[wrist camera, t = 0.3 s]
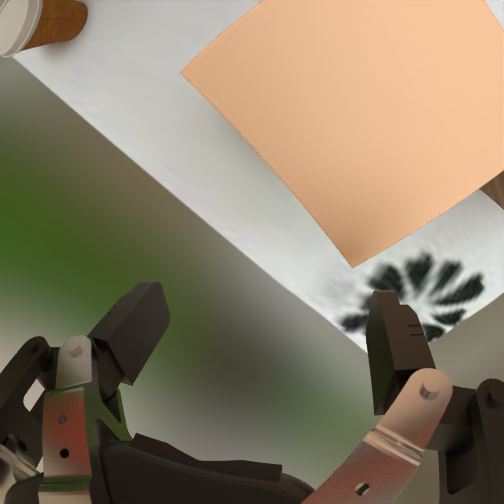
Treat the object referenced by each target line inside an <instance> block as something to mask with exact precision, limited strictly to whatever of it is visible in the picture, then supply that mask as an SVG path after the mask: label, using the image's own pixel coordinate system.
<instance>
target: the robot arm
mask: <svg viewBox="0 0 504 504" xmlns="http://www.w3.org/2000/svg"><path fill="white" fill-rule="evenodd" d="M169 322H170V313H169V309H168V306H167V303H166V299H165V296H164V293H163V290H162V286H161V284H160V283H159V282H154V281H140V282H139V283H138V284H137V285H136V286H135V287H134V288H133V289H132V291H131V292H129V293H127V294H126V295H124V296H123V297H121V298H120V299H119V300H118V301H117V302H116V303H115V304H114V305H113V308H111V309H110V310H109V311H108V313H107V314H106V315H105V316H104V317H103V318H102V319H101V320H100V321H99V323H98V324H97V325H96V326H95V327H94V328H93V330H92V331H91V332H90V333H89V334H88V335H87V337H86V336H76V337H72V338H70V339H69V340H67V341H66V342H65V343H64V344H63V345H62V346H61V347H50V346H49V344H48V343H47V341H46V339H45V338H44V337H41V336H38V337H34V338H31V339H29V340H28V341H27V342H26V343H25V344H24V345H23V346H22V347H21V348H20V349H19V351H18V352H17V353H16V354H15V356H14V357H13V358H12V359H11V360H10V362H9V363H8V364H7V366H6V367H5V368H4V369H3V371H2V372H1V373H0V499H1V500H2V501H3V502H4V504H392V503H393V501H394V500H395V499H396V498H397V496H398V495H399V494H400V492H401V491H402V489H403V488H404V487H405V485H406V484H407V482H408V481H409V480H410V478H411V476H412V475H413V474H414V472H415V471H416V469H417V467H418V466H419V464H420V462H421V460H422V456H421V455H422V453H423V451H424V449H430V450H437V451H438V458H439V483H440V499H439V500H440V501H439V504H504V382H502V381H500V380H498V379H487V380H485V381H483V382H482V383H481V384H480V385H479V387H478V388H477V389H469V388H462V387H457V386H453V385H452V383H451V382H450V380H449V378H448V377H447V376H446V375H445V374H444V373H442V372H441V371H439V370H436V367H435V364H434V361H433V358H432V355H431V352H430V349H429V346H428V343H427V340H426V337H425V336H424V332H423V329H422V327H421V324H420V321H419V318H418V316H417V314H416V313H415V312H414V310H413V309H412V308H411V307H410V306H409V305H400V303H399V300H398V297H397V295H396V292H395V291H374V292H373V295H372V300H371V306H370V311H369V316H368V321H367V326H366V344H367V351H368V358H369V366H370V374H371V384H372V394H373V404H374V415H384V417H383V418H382V419H381V421H380V422H379V423H378V425H377V426H376V427H375V428H374V429H373V430H371V431H370V432H369V433H368V434H367V436H366V437H365V438H364V439H363V440H362V441H361V443H360V444H359V445H358V446H357V447H356V449H355V450H354V451H353V452H352V453H351V454H350V455H349V456H348V458H347V459H346V460H345V461H344V462H343V463H342V464H341V465H340V466H339V467H338V468H337V469H336V470H335V471H334V473H333V474H332V475H331V476H330V477H329V478H328V479H327V480H326V481H324V482H323V483H322V484H321V486H319V488H317V489H316V490H314V489H313V488H312V487H311V486H310V485H308V484H307V483H305V482H303V481H301V480H300V479H298V478H295V477H293V476H291V475H288V474H285V473H282V465H278V464H268V463H259V462H252V461H245V460H232V461H200V460H197V459H195V458H193V457H191V456H189V455H187V454H185V453H184V452H181V451H180V450H178V449H176V448H175V447H173V446H171V445H169V444H168V443H165V442H162V441H159V440H156V439H153V438H150V437H146V436H144V435H141V434H138V433H136V434H135V436H134V438H133V439H132V437H131V435H130V434H129V431H128V429H127V424H126V419H125V415H124V409H123V404H122V398H121V392H120V389H119V388H118V386H119V384H120V382H122V383H125V384H128V385H131V386H132V385H133V383H134V381H135V380H136V378H137V377H138V375H139V373H140V372H141V370H142V368H143V367H144V365H145V363H146V362H147V360H148V358H149V356H150V355H151V353H152V352H153V350H154V349H155V347H156V345H157V344H158V342H159V341H160V339H161V337H162V336H163V334H164V333H165V331H166V329H167V328H168V326H169ZM36 379H37V380H38V381H39V382H40V384H41V385H42V386H43V387H44V389H45V390H44V391H43V393H42V394H41V396H40V398H39V399H38V400H37V402H36V403H35V405H34V407H33V408H32V409H31V411H30V412H29V411H28V410H27V409H26V408H25V406H24V403H23V399H24V396H25V394H26V393H27V391H28V390H29V388H30V387H31V386H32V384H33V383H34V381H35V380H36ZM42 456H43V469H44V472H42V473H40V472H39V471H37V470H36V467H37V466H38V464H39V462H40V460H41V458H42Z"/></svg>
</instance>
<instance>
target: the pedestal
mask: <svg viewBox="0 0 504 504" xmlns="http://www.w3.org/2000/svg"><path fill="white" fill-rule="evenodd" d="M180 74H181V75H182V76H183V77H184V78H185V79H186V80H187V81H188V82H189V83H190V84H191V85H192V86H193V87H195V88H196V89H197V90H198V91H199V92H200V93H201V94H202V95H203V96H204V97H205V98H206V99H207V100H208V101H209V102H210V103H211V104H212V105H213V106H214V107H215V108H216V109H217V110H218V111H219V112H220V113H221V114H222V116H223V117H224V118H225V119H226V120H227V121H228V122H229V123H230V124H231V125H232V126H233V127H234V128H235V129H236V130H237V131H238V132H239V133H240V134H241V135H242V137H243V138H244V139H245V140H246V141H247V142H248V143H249V144H250V145H251V146H252V147H253V149H254V150H255V151H256V152H257V153H258V154H259V155H260V156H261V157H262V158H263V160H264V161H265V162H266V163H267V164H268V165H269V166H270V167H271V169H272V170H273V171H274V172H275V173H276V174H277V175H278V177H279V178H280V179H281V180H282V181H283V182H284V184H285V185H286V186H287V187H288V188H289V189H290V191H291V192H292V193H293V194H294V195H295V197H296V198H297V199H298V200H299V201H300V203H301V204H302V205H303V206H304V207H305V209H306V210H307V211H308V212H309V213H310V215H311V216H312V217H313V218H314V220H315V221H316V222H317V223H318V225H319V226H320V227H321V228H322V230H323V231H324V232H325V233H326V235H327V236H328V237H329V239H330V240H331V241H332V242H333V244H334V245H335V246H336V248H337V249H338V250H339V251H340V253H341V254H342V255H343V257H344V258H345V259H346V261H347V262H348V263H349V265H350V266H351V267H352V268H354V267H355V266H357V265H359V264H361V263H362V262H364V261H366V260H368V259H369V258H371V257H373V256H375V255H376V254H378V253H380V252H381V251H383V250H385V249H386V248H388V247H390V246H391V245H393V244H395V243H396V242H398V241H400V240H401V239H403V238H405V237H406V236H408V235H409V234H411V233H413V232H414V231H416V230H417V229H419V228H421V227H422V226H424V225H425V224H427V223H428V222H430V221H431V220H433V219H435V218H436V217H438V216H439V215H441V214H442V213H444V212H445V211H447V210H448V209H450V208H451V207H453V206H454V205H456V204H457V203H459V202H460V201H462V200H463V199H464V198H466V197H467V196H469V195H470V194H472V193H473V192H474V191H476V190H477V189H479V188H480V187H482V186H483V185H484V184H486V183H487V182H488V181H490V180H491V179H493V178H494V177H495V176H497V175H498V174H499V173H501V172H502V171H503V170H504V30H503V29H502V27H501V25H500V24H499V22H498V20H497V19H496V17H495V15H494V14H493V12H492V11H491V9H490V8H489V6H488V5H487V3H486V2H485V0H263V1H262V2H260V3H259V4H257V5H256V6H255V7H253V8H252V9H251V10H249V11H248V12H247V13H245V14H244V15H243V16H242V17H240V18H239V19H238V20H237V21H235V22H234V23H233V24H232V25H230V26H229V27H228V28H227V29H226V30H225V31H223V32H222V33H221V34H220V35H219V36H218V37H216V38H215V39H214V40H213V41H212V42H211V43H210V44H209V45H208V46H207V47H205V48H204V49H203V50H202V51H201V52H200V53H199V54H198V55H197V56H196V57H195V58H194V59H193V60H192V61H191V62H190V63H189V64H188V65H187V66H186V67H185V68H184V69H183V70H182V71H181V72H180Z"/></svg>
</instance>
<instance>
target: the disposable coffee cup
mask: <svg viewBox="0 0 504 504" xmlns="http://www.w3.org/2000/svg"><path fill="white" fill-rule="evenodd" d="M86 19H87V8H86V6H85V4H83V3H81V2H78V1H75V0H6V1H5V2H4V4H3V5H2V7H1V8H0V55H1V56H2V57H5V58H8V57H11V56H13V55H15V54H16V53H18V52H19V51H23V50H26V49H30V48H33V47H38V46H42V45H46V44H50V43H56V42H61V41H67V40H70V39H73V38H74V37H75V36H76V35H77V34H78V33H79V32H80V31H81V30H82V28H83V26H84V24H85V22H86Z"/></svg>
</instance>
